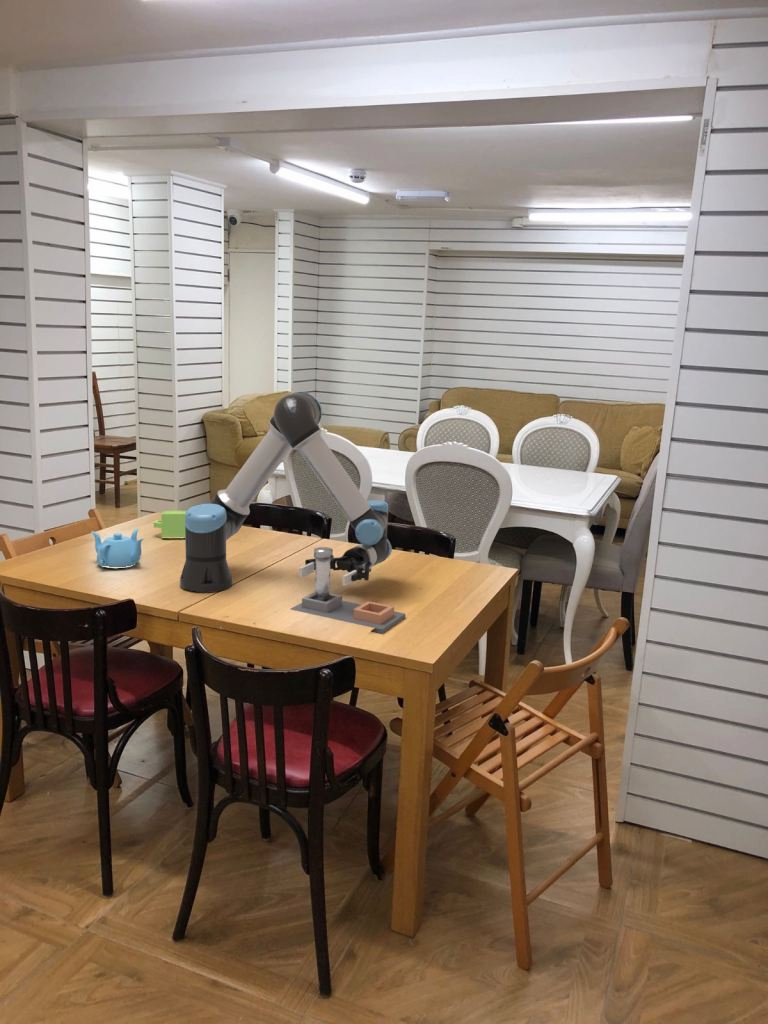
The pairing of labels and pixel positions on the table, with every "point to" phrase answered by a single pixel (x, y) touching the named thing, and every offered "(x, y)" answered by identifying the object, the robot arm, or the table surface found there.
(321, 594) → the pin
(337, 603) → the dock board
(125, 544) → the teapot
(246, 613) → the table surface
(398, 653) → the table surface
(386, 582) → the table surface
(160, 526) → the gearbox
